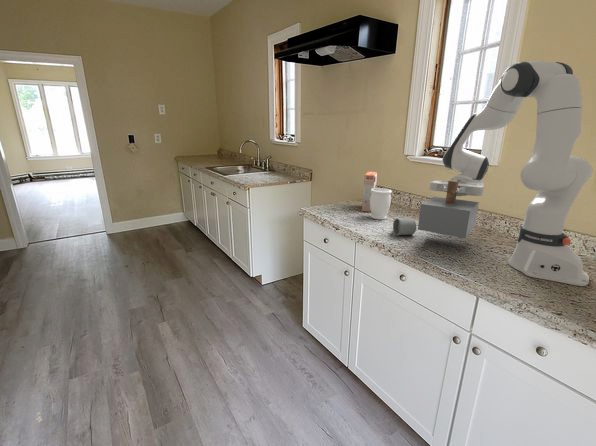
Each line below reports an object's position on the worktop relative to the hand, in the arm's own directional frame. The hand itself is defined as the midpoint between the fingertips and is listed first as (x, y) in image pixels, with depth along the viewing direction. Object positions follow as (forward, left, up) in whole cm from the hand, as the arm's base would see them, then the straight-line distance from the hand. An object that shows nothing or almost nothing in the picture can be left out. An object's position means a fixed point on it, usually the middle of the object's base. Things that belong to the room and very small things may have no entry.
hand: (451, 190), depth 127 cm
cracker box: (+49, -31, -23) cm, 63 cm away
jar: (+37, -19, -23) cm, 48 cm away
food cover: (0, -1, -16) cm, 16 cm away
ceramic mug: (+18, -2, -23) cm, 30 cm away
